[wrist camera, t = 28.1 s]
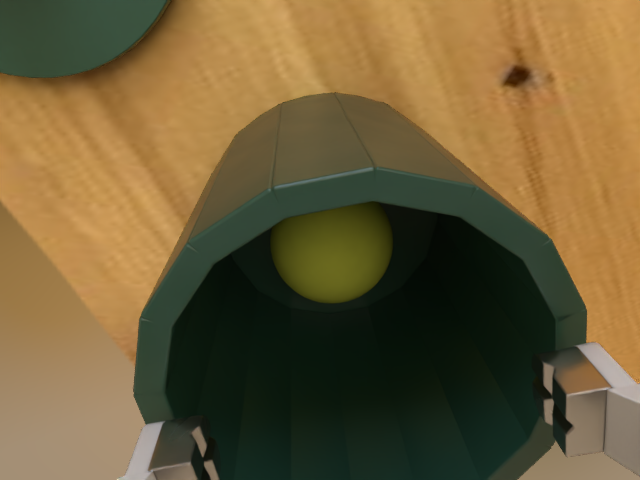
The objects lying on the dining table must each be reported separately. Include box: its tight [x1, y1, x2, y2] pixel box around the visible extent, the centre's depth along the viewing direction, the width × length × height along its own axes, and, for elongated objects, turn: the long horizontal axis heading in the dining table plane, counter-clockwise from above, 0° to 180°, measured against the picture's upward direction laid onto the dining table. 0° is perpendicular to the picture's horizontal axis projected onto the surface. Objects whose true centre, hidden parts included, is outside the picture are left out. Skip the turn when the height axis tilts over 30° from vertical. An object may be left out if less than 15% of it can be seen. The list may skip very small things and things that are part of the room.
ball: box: [270, 201, 393, 304], centre depth 22 cm, size 5×5×5 cm
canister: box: [133, 92, 587, 480], centre depth 19 cm, size 12×12×12 cm
